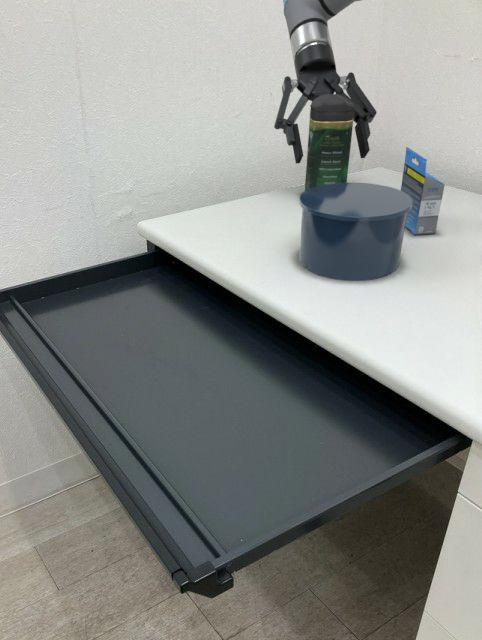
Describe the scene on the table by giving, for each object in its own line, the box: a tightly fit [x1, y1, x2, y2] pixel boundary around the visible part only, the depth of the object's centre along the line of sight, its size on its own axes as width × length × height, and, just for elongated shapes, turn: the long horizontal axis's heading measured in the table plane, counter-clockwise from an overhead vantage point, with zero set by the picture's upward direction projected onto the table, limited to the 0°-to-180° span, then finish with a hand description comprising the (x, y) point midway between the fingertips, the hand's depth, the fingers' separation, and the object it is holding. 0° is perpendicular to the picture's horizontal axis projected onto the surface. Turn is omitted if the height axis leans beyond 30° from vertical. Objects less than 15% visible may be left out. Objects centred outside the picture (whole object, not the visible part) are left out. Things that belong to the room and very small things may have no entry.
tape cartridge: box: [400, 146, 446, 236], centre depth 99 cm, size 9×4×12 cm, turn 5°
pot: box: [298, 182, 413, 282], centre depth 89 cm, size 16×16×10 cm
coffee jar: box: [304, 93, 354, 192], centre depth 112 cm, size 10×8×19 cm
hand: (332, 156), depth 111 cm, fingers open, 12 cm apart
